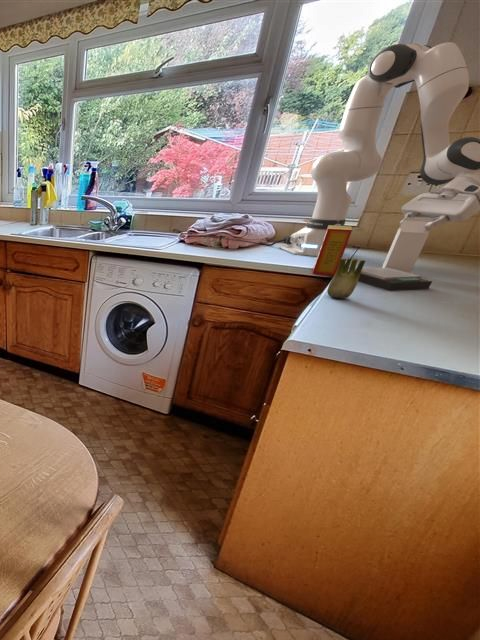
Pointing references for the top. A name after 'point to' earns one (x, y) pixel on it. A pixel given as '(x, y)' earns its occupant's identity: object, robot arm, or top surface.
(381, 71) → the robot arm
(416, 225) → the milk carton
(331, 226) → the baking soda box
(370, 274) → the scale
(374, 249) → the top surface
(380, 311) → the top surface
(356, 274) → the fennel bulb
